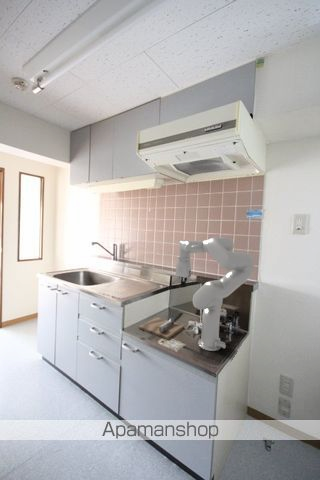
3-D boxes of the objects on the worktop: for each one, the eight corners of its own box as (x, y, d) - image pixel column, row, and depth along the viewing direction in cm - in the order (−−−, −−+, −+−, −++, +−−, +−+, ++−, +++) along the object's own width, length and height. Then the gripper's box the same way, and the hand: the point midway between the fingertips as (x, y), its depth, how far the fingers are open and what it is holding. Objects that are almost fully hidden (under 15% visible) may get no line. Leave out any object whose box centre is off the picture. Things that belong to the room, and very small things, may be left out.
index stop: (167, 332, 138) (167, 325, 138) (162, 335, 134) (163, 328, 134) (164, 331, 140) (165, 324, 139) (160, 334, 135) (160, 327, 135)
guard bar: (170, 321, 151) (170, 317, 150) (174, 323, 149) (174, 318, 149) (158, 329, 138) (158, 325, 138) (162, 331, 136) (162, 326, 136)
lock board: (183, 327, 146) (184, 325, 146) (167, 339, 130) (167, 337, 130) (157, 319, 159) (157, 316, 159) (138, 328, 143) (138, 326, 143)
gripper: (172, 258, 148) (171, 285, 149) (189, 261, 137) (188, 290, 138) (179, 257, 153) (178, 283, 154) (197, 260, 142) (195, 288, 143)
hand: (183, 286), depth 146 cm, fingers closed
